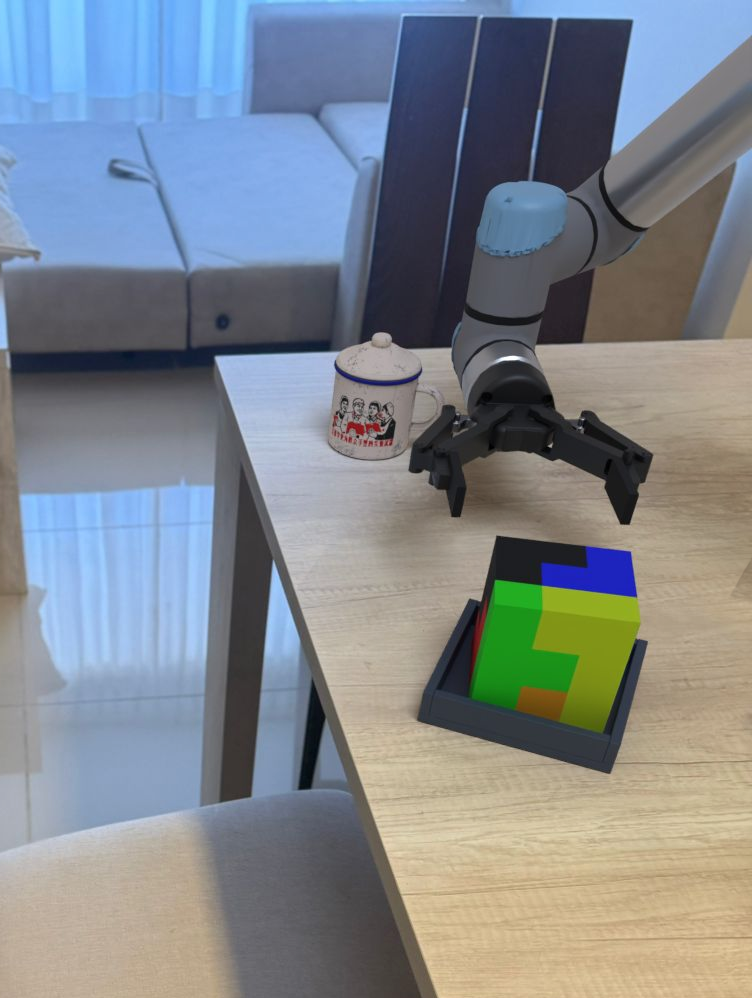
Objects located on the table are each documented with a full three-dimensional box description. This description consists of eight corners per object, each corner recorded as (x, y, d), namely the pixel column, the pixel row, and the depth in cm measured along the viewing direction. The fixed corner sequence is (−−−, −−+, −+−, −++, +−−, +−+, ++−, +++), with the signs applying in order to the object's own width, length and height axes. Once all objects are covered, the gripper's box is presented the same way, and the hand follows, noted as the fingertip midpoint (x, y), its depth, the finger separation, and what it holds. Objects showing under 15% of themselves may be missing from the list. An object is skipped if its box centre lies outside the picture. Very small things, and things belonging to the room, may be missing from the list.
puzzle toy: (595, 659, 94) (630, 551, 88) (602, 734, 87) (641, 622, 80) (471, 642, 96) (496, 535, 89) (467, 714, 89) (494, 604, 82)
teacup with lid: (315, 453, 124) (327, 343, 116) (338, 419, 130) (350, 314, 122) (425, 473, 120) (445, 362, 112) (443, 438, 127) (464, 330, 119)
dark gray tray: (638, 669, 95) (648, 640, 93) (610, 774, 85) (620, 744, 83) (463, 625, 99) (469, 598, 97) (417, 720, 89) (422, 691, 88)
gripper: (630, 441, 111) (686, 554, 95) (369, 431, 112) (382, 540, 97) (653, 364, 106) (717, 469, 90) (379, 354, 107) (395, 455, 92)
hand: (544, 506), depth 93 cm, fingers open, 13 cm apart
